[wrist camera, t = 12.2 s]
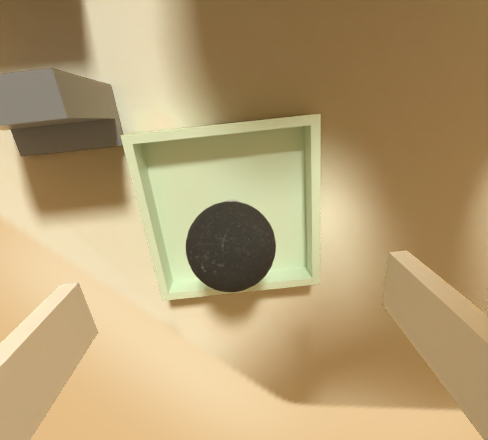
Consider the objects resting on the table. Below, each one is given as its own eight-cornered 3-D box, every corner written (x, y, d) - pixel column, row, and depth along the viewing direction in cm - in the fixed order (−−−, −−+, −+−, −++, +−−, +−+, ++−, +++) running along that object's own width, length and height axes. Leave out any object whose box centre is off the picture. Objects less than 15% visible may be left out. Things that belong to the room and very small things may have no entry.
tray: (133, 133, 21) (120, 135, 19) (310, 114, 21) (320, 113, 19) (168, 284, 27) (162, 300, 24) (312, 269, 27) (320, 284, 24)
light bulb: (210, 245, 25) (195, 322, 15) (191, 187, 23) (161, 235, 13) (269, 231, 24) (292, 301, 15) (255, 171, 22) (271, 208, 13)
